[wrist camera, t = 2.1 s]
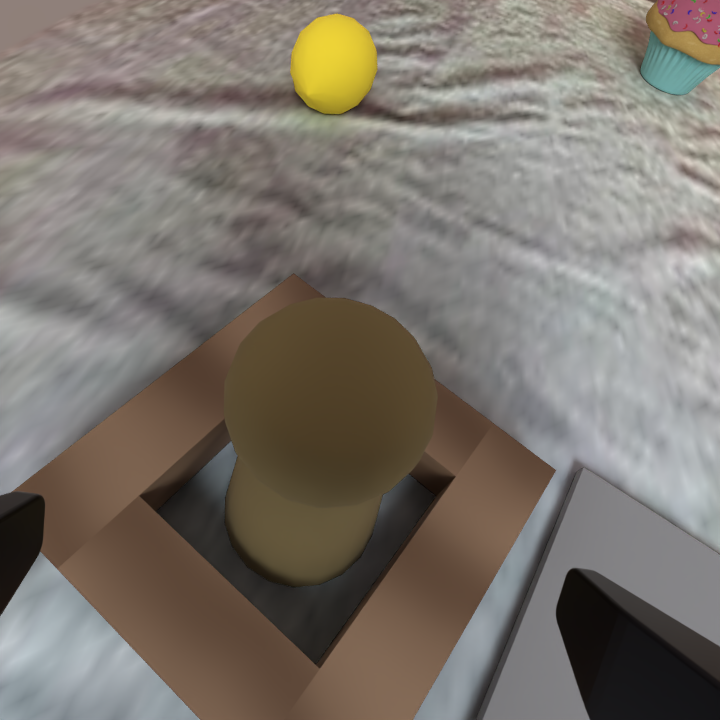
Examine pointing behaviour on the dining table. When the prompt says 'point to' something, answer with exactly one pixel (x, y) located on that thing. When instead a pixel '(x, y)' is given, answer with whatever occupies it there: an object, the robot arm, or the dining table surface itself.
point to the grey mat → (614, 561)
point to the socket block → (224, 602)
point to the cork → (321, 434)
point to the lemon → (333, 64)
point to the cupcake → (682, 44)
